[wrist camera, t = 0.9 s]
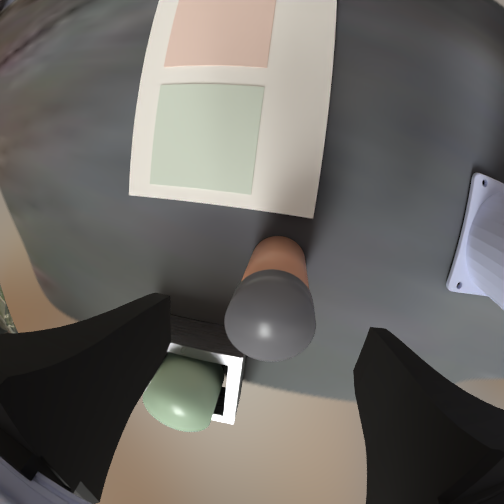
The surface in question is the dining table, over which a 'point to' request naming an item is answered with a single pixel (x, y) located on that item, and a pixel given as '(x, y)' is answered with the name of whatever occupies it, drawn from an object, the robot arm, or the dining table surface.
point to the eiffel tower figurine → (5, 317)
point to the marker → (272, 303)
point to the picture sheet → (235, 103)
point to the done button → (184, 392)
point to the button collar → (211, 358)
